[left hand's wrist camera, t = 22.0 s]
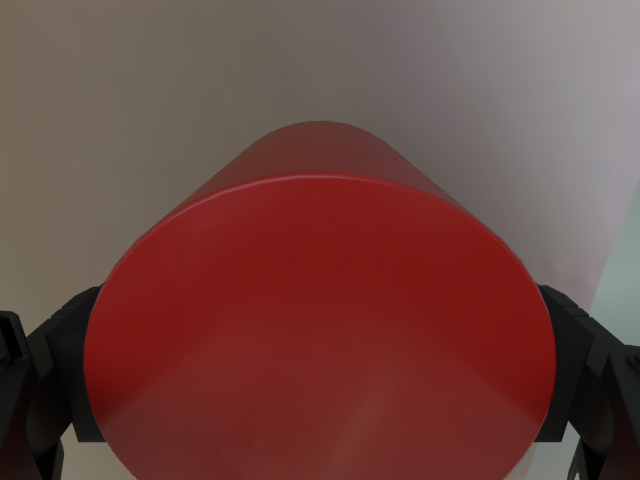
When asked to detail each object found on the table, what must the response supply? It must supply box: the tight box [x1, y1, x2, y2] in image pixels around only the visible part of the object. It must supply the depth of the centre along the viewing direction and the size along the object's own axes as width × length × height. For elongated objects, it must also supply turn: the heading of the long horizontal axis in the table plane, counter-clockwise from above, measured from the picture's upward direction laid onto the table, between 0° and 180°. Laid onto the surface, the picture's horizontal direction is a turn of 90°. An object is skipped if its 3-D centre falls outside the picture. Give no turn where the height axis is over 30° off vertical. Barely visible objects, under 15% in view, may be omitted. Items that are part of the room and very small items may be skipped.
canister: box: [83, 121, 557, 480], centre depth 12 cm, size 9×9×10 cm
